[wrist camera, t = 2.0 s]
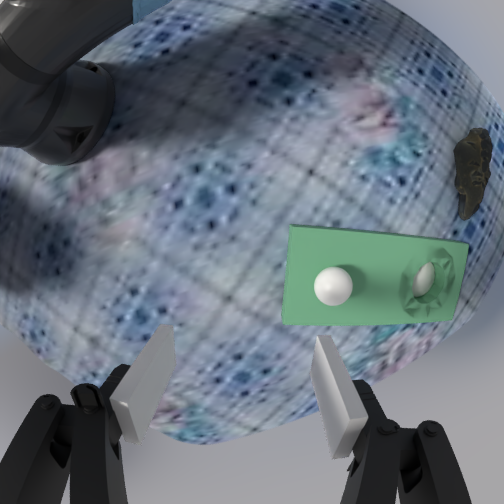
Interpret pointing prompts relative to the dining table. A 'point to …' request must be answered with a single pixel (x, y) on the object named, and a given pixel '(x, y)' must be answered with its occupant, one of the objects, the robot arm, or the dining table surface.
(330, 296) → the ball
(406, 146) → the dining table surface
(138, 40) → the dining table surface
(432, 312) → the green rectangular board
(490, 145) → the stone
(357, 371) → the dining table surface
